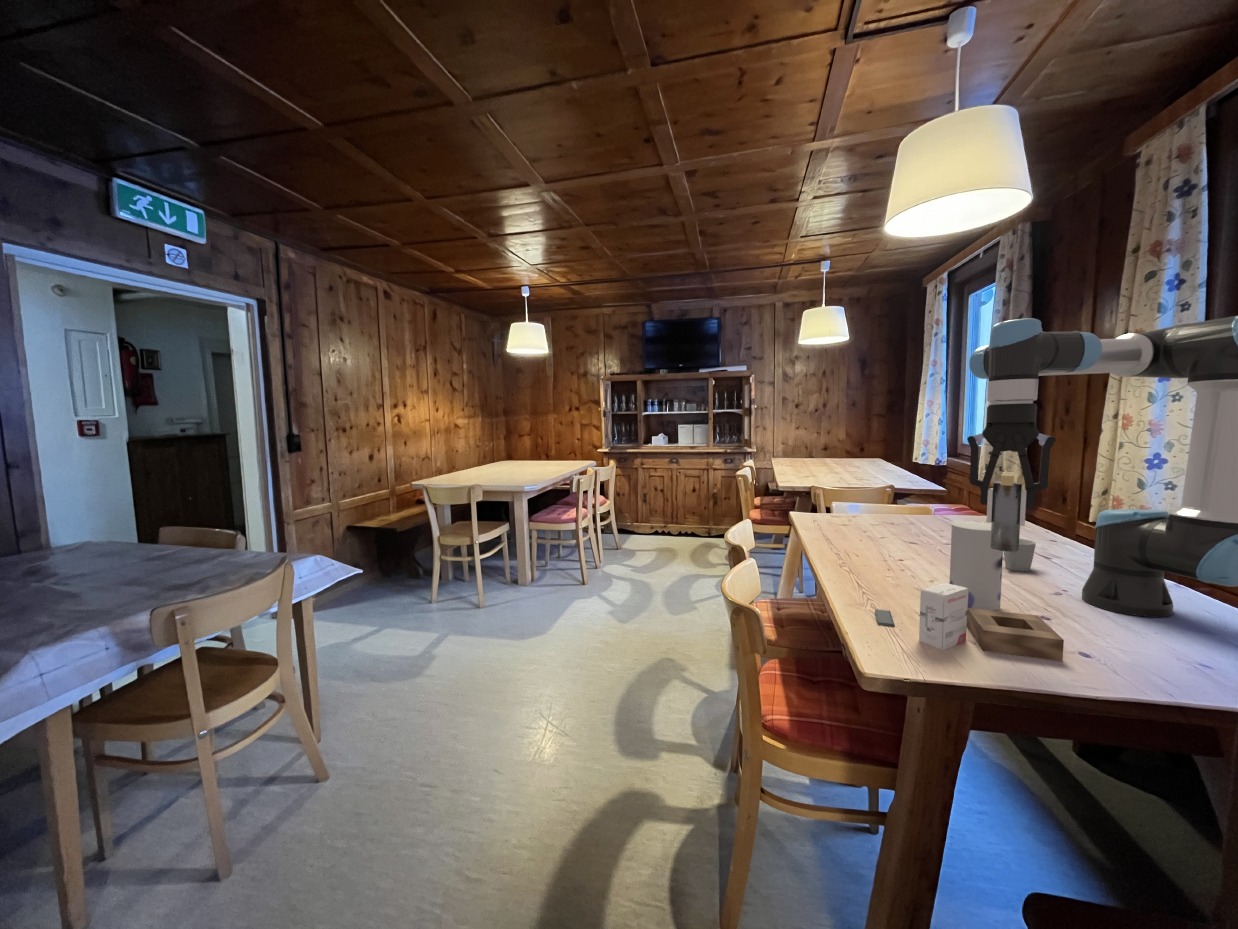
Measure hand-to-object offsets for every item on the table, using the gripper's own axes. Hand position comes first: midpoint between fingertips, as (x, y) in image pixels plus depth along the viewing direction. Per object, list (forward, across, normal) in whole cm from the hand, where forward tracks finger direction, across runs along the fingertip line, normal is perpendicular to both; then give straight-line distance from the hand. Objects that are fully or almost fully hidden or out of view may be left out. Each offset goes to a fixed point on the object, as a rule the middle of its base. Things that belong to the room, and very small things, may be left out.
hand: (1005, 522), depth 96 cm
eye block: (+25, -2, 0) cm, 25 cm away
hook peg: (+5, 0, 0) cm, 5 cm away
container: (+25, +6, -21) cm, 33 cm away
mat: (+25, +18, -1) cm, 31 cm away
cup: (+25, -2, -63) cm, 67 cm away
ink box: (+25, +9, +7) cm, 27 cm away
